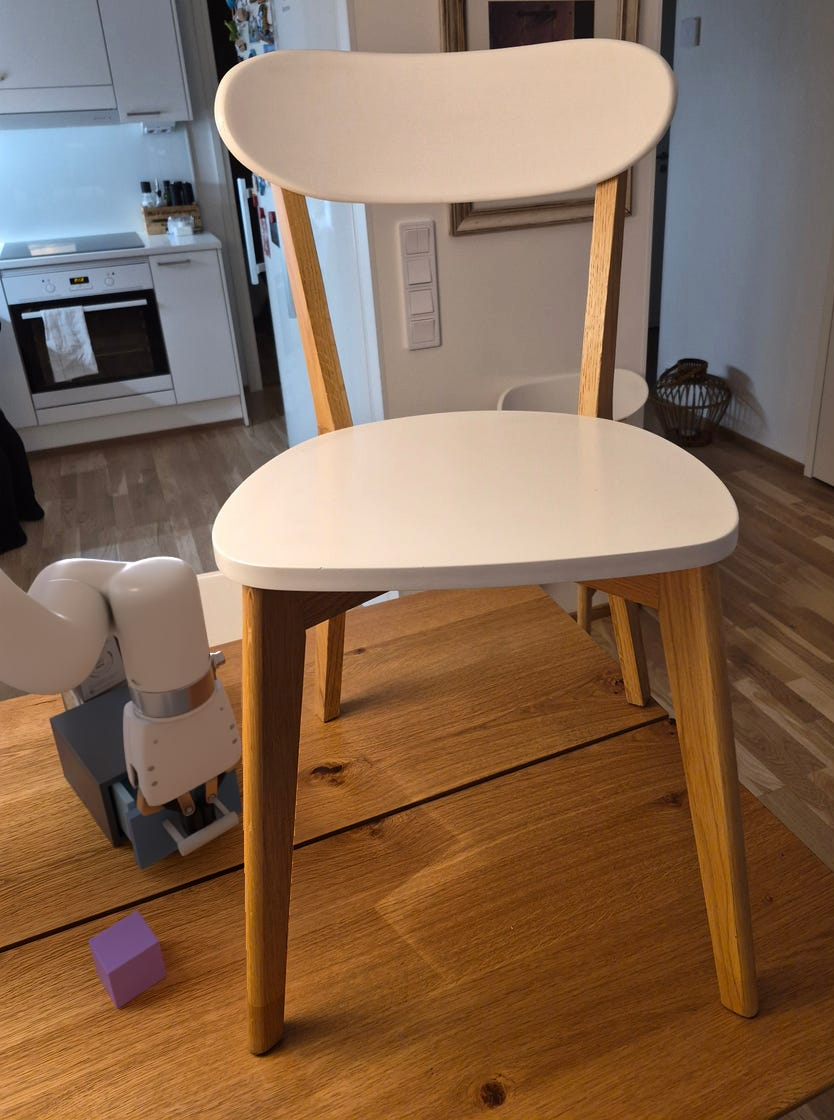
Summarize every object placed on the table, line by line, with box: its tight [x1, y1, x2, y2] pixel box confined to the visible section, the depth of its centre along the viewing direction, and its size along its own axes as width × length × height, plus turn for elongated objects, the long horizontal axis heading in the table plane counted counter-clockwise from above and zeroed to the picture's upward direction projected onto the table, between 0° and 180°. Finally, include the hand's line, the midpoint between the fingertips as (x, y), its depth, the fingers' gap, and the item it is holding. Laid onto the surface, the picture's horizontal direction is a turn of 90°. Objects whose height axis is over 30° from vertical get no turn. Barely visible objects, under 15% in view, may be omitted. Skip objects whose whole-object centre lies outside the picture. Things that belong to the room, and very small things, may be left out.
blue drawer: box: [108, 767, 243, 871], centre depth 91 cm, size 19×11×7 cm, turn 44°
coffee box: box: [60, 635, 128, 712], centre depth 106 cm, size 9×6×16 cm
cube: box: [88, 910, 167, 1010], centre depth 76 cm, size 4×4×4 cm
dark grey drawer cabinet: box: [49, 684, 132, 848], centre depth 97 cm, size 15×13×9 cm
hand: (201, 831), depth 87 cm, fingers closed
